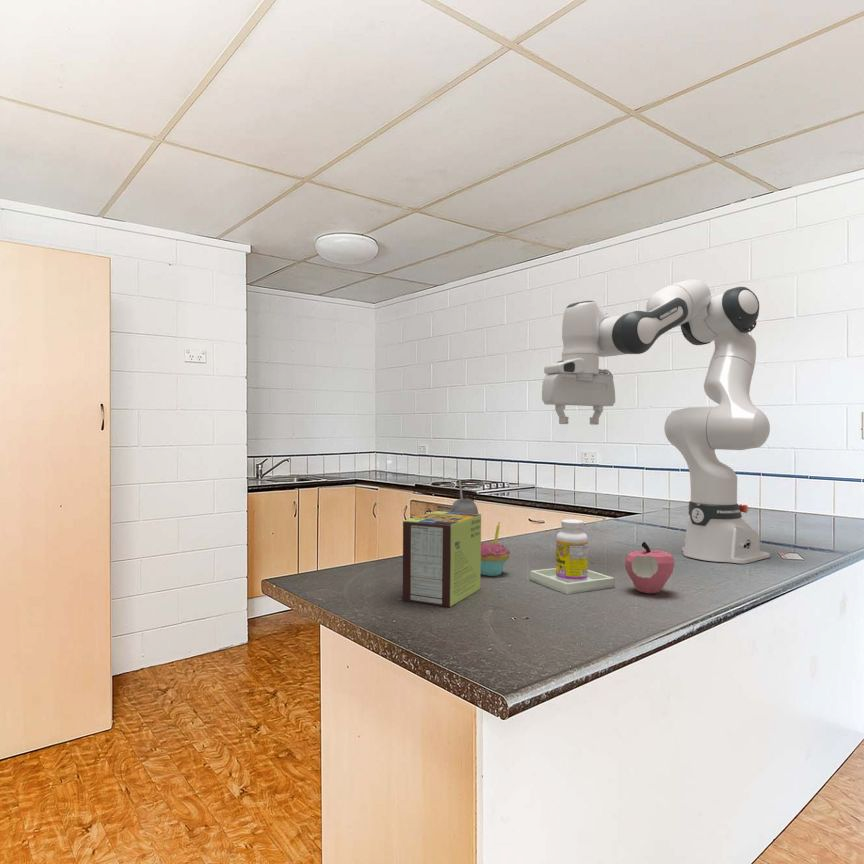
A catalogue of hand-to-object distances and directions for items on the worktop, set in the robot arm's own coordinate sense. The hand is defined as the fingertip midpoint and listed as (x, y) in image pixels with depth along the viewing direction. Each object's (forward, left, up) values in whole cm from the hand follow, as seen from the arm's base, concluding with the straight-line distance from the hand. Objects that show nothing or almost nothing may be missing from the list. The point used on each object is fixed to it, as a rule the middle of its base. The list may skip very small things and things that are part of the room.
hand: (579, 424), depth 155 cm
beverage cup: (+24, -14, -34) cm, 44 cm away
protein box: (+43, +11, -34) cm, 56 cm away
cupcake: (+25, 0, -34) cm, 42 cm away
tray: (+14, +15, -34) cm, 40 cm away
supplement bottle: (+14, +15, -34) cm, 39 cm away
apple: (+4, +27, -34) cm, 44 cm away
